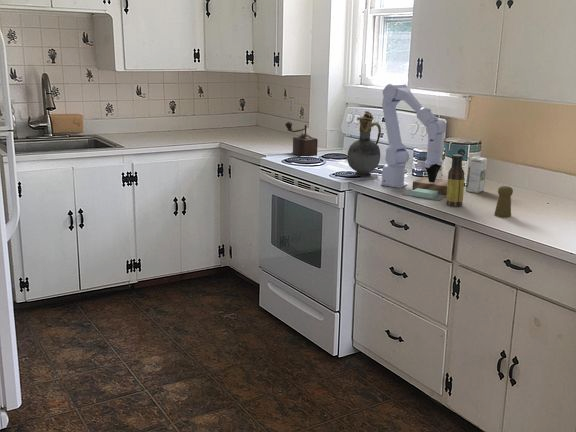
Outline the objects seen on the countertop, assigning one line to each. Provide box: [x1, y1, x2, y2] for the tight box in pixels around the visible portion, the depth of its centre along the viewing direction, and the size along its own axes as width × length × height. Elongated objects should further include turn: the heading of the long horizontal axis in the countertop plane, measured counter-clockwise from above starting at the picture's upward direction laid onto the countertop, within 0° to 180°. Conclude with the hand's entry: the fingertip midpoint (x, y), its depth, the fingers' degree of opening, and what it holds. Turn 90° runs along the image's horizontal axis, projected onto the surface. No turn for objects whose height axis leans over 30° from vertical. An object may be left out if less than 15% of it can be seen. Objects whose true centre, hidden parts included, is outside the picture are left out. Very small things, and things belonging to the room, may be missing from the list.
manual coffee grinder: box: [285, 121, 318, 157], centre depth 349 cm, size 16×11×18 cm
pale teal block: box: [411, 188, 438, 200], centre depth 263 cm, size 9×6×2 cm, turn 57°
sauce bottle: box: [446, 153, 465, 208], centre depth 247 cm, size 6×6×20 cm
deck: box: [411, 176, 448, 197], centre depth 273 cm, size 15×12×4 cm
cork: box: [493, 185, 514, 219], centre depth 235 cm, size 6×6×11 cm
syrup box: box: [465, 156, 488, 194], centre depth 272 cm, size 6×6×14 cm
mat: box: [401, 189, 447, 201], centre depth 265 cm, size 16×9×1 cm, turn 56°
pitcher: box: [346, 110, 382, 178], centre depth 299 cm, size 11×19×30 cm, turn 133°
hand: (431, 182), depth 268 cm, fingers closed
